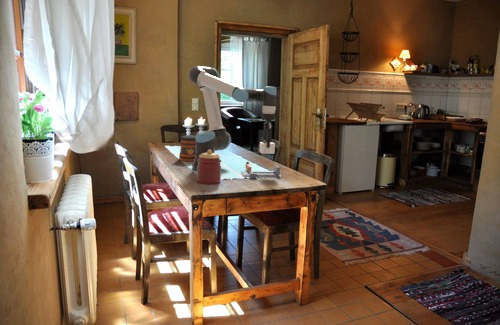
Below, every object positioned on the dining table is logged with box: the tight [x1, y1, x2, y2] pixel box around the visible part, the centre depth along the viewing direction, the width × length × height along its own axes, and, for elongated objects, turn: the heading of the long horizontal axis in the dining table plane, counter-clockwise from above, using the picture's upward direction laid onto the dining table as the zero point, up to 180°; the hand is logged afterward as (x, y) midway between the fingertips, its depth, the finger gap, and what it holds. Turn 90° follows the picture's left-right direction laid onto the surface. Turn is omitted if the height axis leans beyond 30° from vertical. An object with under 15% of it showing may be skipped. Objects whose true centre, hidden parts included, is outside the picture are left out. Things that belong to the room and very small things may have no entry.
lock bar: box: [245, 161, 252, 172], centre depth 240 cm, size 2×12×4 cm, turn 9°
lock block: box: [258, 140, 276, 155], centre depth 230 cm, size 8×6×7 cm
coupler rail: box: [240, 164, 281, 180], centre depth 230 cm, size 22×16×6 cm
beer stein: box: [178, 134, 196, 163], centre depth 267 cm, size 19×15×20 cm
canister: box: [196, 150, 222, 185], centre depth 208 cm, size 13×13×18 cm
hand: (266, 152), depth 231 cm, fingers closed on lock block, 5 cm apart
